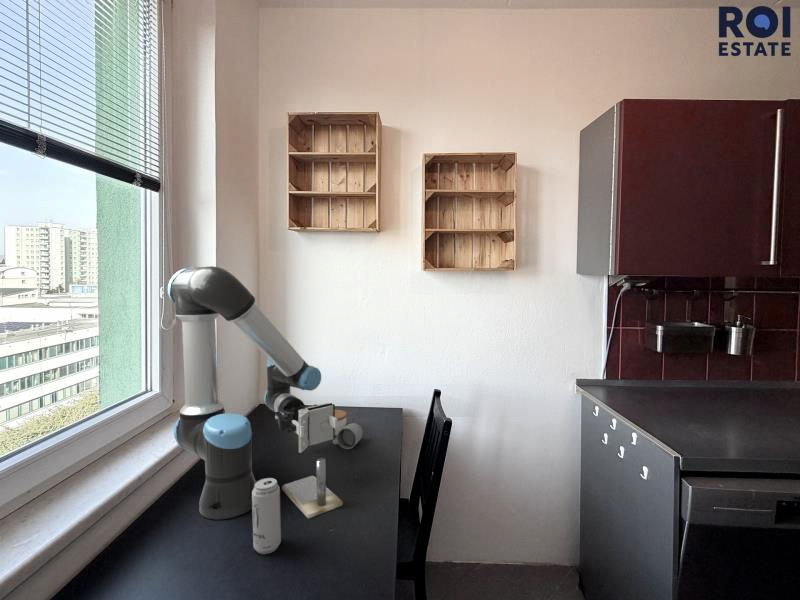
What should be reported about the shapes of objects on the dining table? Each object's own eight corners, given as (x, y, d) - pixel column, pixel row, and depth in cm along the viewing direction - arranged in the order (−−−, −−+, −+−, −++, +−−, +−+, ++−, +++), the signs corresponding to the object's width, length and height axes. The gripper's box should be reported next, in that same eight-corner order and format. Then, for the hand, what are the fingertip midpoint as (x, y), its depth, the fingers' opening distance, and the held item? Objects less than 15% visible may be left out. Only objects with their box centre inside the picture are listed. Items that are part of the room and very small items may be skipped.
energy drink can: (248, 546, 93) (247, 483, 92) (273, 535, 97) (271, 474, 96) (260, 559, 89) (259, 493, 88) (285, 546, 93) (284, 483, 92)
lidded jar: (317, 430, 164) (317, 407, 163) (343, 426, 168) (343, 404, 167) (322, 440, 154) (321, 416, 153) (349, 436, 158) (349, 412, 157)
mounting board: (308, 518, 104) (308, 514, 104) (282, 489, 118) (282, 486, 118) (342, 505, 110) (342, 501, 110) (314, 479, 124) (314, 476, 124)
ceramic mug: (364, 441, 153) (363, 421, 152) (356, 450, 145) (355, 429, 144) (337, 439, 155) (337, 419, 155) (329, 448, 147) (328, 427, 147)
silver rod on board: (307, 511, 105) (306, 466, 104) (283, 485, 118) (282, 445, 118) (338, 500, 110) (338, 457, 110) (312, 476, 124) (311, 437, 123)
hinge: (300, 453, 110) (300, 417, 109) (287, 448, 113) (287, 413, 113) (337, 437, 121) (336, 404, 121) (324, 433, 124) (324, 401, 124)
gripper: (321, 412, 137) (354, 432, 119) (254, 426, 124) (280, 450, 106) (321, 390, 137) (354, 407, 119) (254, 402, 124) (280, 422, 106)
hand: (319, 427), depth 113 cm, fingers closed on hinge, 9 cm apart
